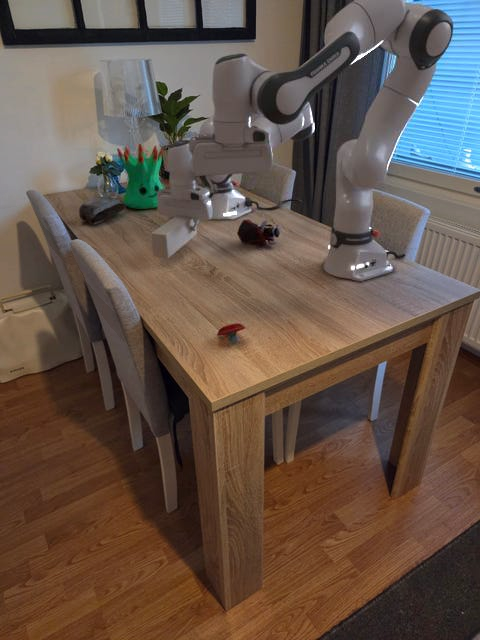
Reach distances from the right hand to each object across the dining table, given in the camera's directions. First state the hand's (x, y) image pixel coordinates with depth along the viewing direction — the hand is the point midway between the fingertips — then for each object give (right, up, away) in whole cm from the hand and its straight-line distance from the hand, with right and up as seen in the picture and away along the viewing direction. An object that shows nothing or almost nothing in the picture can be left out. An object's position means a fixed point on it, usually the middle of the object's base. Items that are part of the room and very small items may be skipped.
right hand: (232, 191), depth 113 cm
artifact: (-12, +34, +113) cm, 119 cm away
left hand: (-17, 0, +47) cm, 50 cm away
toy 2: (+9, -5, +50) cm, 51 cm away
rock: (-55, +9, +73) cm, 92 cm away
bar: (-20, -6, +42) cm, 47 cm away
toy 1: (-41, +20, +91) cm, 102 cm away
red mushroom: (0, -38, -3) cm, 38 cm away
